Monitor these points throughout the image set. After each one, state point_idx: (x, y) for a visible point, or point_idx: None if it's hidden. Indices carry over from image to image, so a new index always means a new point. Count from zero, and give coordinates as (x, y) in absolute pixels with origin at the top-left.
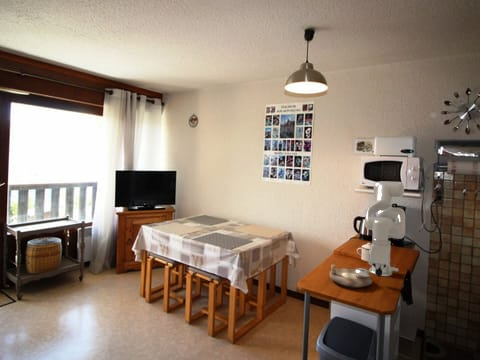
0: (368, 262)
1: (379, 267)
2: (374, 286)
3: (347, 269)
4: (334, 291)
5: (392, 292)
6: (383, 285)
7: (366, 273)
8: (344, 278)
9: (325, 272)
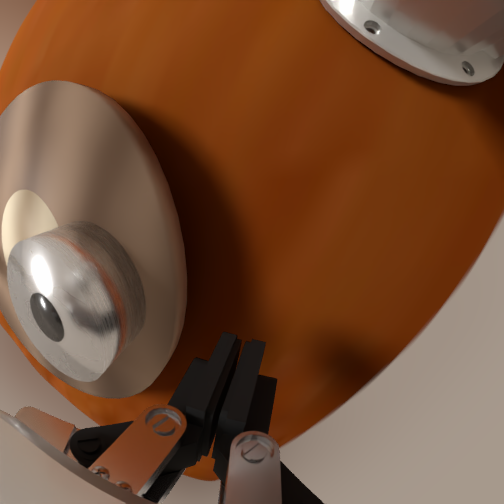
0: (17, 417)
1: (217, 457)
2: (212, 330)
3: (32, 105)
4: None
5: (305, 412)
6: (307, 313)
7: (88, 378)
8: None
9: (4, 106)
